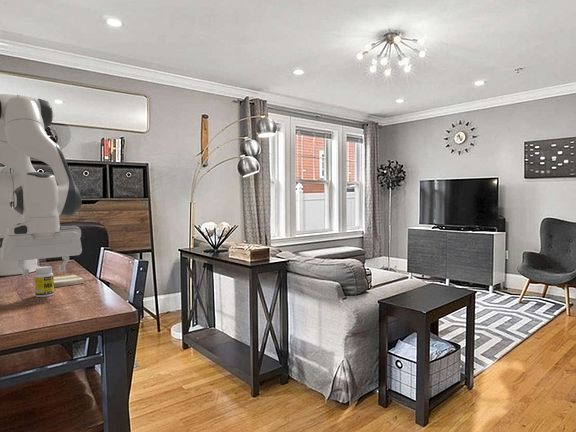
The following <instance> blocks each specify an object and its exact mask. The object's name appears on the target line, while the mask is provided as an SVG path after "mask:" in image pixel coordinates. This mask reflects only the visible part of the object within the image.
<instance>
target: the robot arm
mask: <svg viewBox="0 0 576 432" xmlns="http://www.w3.org/2000/svg"><path fill="white" fill-rule="evenodd" d="M54 116H55V115H54V110H53V107H52V104H51V103H50V102H49V101H47V100H45V99H41V98H34V97H32V96H27V95H20V94H7V93H0V164H1V165H3V166H5V167H8V168H10V169H12V170H13V171H12V172H11V173H9V172H8V173H6V172H5V173H2V172H0V276H15V275H22V277H28V276H30V273H34V272H36V268H38V267H41V265H40V266H39V265H38V260H40V259H52V258H60V257H61V258H62V260H63V262H62V263H61V265H58V272H60V273H62V272H66V271H67V270H66V266H67V264H68V263H69V261H70V256H71V257H72V256H73V257H74V256H80V255H81V254H82V253H83V248H82V241H81V238H82V229H81V228H80V227H79V226H76V225H74V224H73V225H61V223H60V216H63V217H72V216H73V215H75V214H76V213H78V212H79V210H81V208H82V204H83V203H82V202H83V201H82V199H83V198H82V195H81V192H80V190H79V188H78V186H77V185H76V182H75V181H74V178H73V175H72V173H71V171H70V168H69V165H68V163H67V160H66V157H65V155H64V153H63V151H62V149H61V147H60V145H59V144H58V143H56V142H55V141H53V140H52V139H51V138H50V137H49V136H48V134H47V132H46V129H45V128H48V127H50V126H51V125H52V122H53V120H54ZM31 158H33V159H34V160H38V161H41V162H43V163H45V164H46V165H48V166H49V167H50V168H51V170H52V172H53V173H49V172H41V171H38V172H37V170H36V169H35V168H34V166H33V164H32V162H31ZM12 202H13V207H12V206H11V205H10V203H12Z"/></svg>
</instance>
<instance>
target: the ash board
mask: <svg viewBox="0 0 576 432" xmlns="http://www.w3.org/2000/svg"><path fill="white" fill-rule="evenodd" d="M84 280H85V279H84V278H82V277H80V276H78V275H76V274H74V273H73V274H72V273H71V274H65V275H59V276H58V275H57V276H54V289H55V288H61V287H67V286H74V285H75V286H77V285H82V284H81V283H83V284H85V281H84Z"/></svg>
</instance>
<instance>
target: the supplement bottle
mask: <svg viewBox="0 0 576 432" xmlns="http://www.w3.org/2000/svg"><path fill="white" fill-rule="evenodd" d="M35 273H36V274H35V276H34V292H35V297H36V298H46V297H51V296H53V295H54V294H55V288H54V277H55V275H54V273H53V267H52V266H40V267H38V268H36V271H35Z"/></svg>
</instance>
